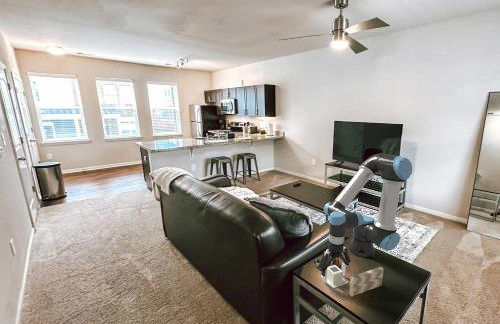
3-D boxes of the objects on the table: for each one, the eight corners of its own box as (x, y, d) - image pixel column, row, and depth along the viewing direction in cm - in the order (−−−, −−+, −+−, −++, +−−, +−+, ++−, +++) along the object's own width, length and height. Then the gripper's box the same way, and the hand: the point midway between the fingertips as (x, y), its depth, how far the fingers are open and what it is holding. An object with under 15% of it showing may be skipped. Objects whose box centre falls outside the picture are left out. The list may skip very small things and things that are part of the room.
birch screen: (379, 283, 123) (380, 266, 121) (381, 285, 122) (383, 268, 120) (349, 294, 116) (350, 276, 114) (351, 296, 115) (353, 278, 113)
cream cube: (334, 274, 130) (335, 264, 129) (342, 281, 125) (342, 271, 123) (325, 277, 128) (326, 267, 127) (333, 284, 123) (333, 274, 121)
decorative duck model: (313, 260, 134) (309, 244, 148) (314, 271, 135) (310, 255, 150) (340, 258, 132) (333, 243, 146) (341, 270, 134) (334, 253, 148)
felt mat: (335, 271, 133) (335, 271, 133) (348, 283, 124) (348, 282, 124) (320, 276, 129) (320, 275, 129) (332, 288, 120) (332, 288, 120)
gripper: (349, 233, 130) (346, 267, 134) (312, 242, 121) (310, 278, 126) (359, 239, 123) (356, 275, 127) (321, 250, 114) (319, 288, 119)
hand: (334, 277), depth 126 cm, fingers open, 12 cm apart
